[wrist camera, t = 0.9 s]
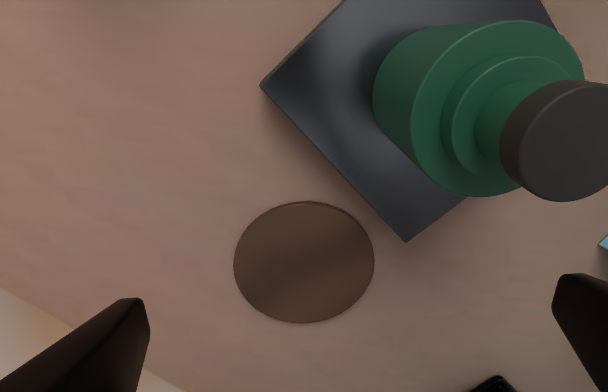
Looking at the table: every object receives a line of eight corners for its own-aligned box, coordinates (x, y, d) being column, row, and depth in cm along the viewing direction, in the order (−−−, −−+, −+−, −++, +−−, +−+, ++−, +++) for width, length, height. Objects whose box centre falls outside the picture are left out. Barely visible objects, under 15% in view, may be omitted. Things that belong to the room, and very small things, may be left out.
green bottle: (515, 96, 18) (739, 153, 9) (418, 174, 20) (530, 289, 11) (450, -5, 16) (651, -59, 7) (346, 89, 18) (410, 141, 9)
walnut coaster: (400, 265, 24) (402, 269, 24) (299, 340, 26) (300, 344, 26) (309, 171, 21) (309, 174, 21) (204, 263, 24) (203, 266, 23)
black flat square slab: (568, 94, 20) (596, 100, 19) (396, 227, 23) (405, 244, 21) (450, -107, 17) (471, -125, 15) (260, 81, 19) (258, 85, 18)
